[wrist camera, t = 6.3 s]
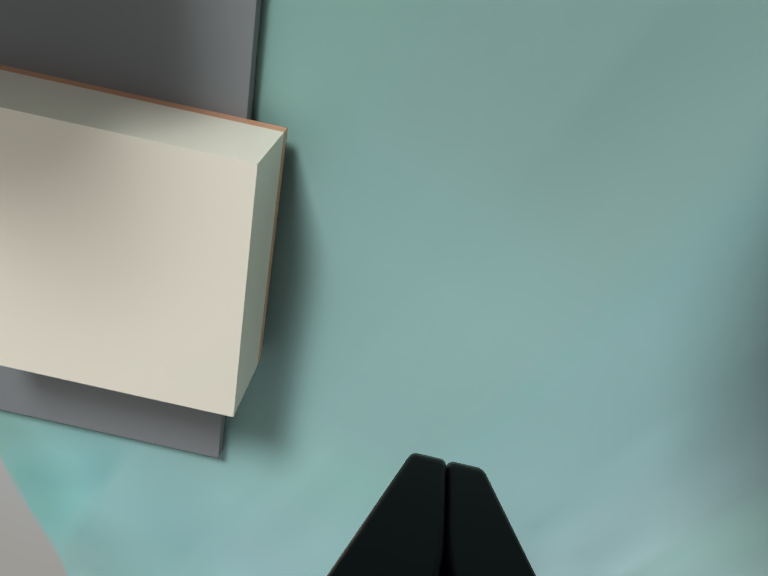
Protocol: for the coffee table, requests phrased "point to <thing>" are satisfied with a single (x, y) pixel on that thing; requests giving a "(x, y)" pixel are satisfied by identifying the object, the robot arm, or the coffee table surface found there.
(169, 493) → the coffee table surface
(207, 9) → the mat
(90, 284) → the cream rectangular block
